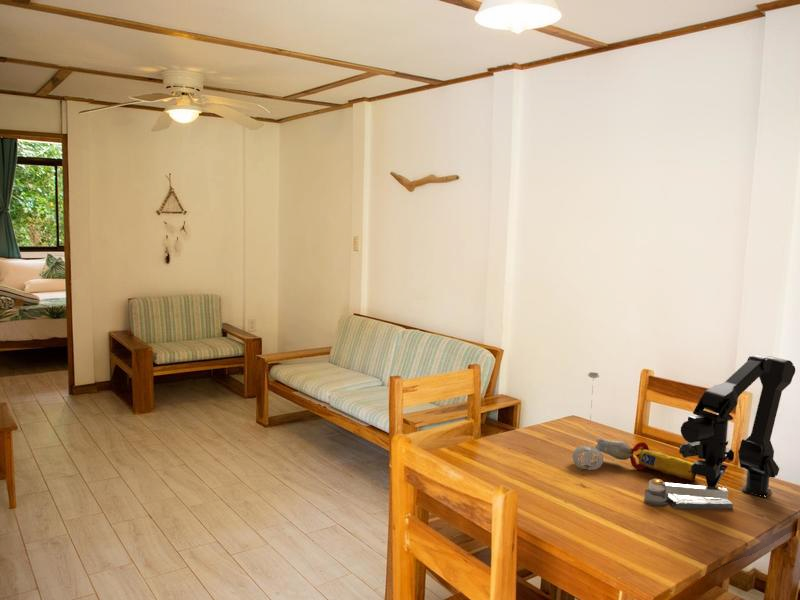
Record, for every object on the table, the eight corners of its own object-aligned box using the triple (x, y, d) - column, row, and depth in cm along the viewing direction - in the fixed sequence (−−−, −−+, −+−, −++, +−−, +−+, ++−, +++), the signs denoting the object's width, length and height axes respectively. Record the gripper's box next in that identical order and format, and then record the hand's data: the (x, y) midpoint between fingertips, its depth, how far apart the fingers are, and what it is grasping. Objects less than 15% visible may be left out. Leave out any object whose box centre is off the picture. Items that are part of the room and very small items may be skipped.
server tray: (676, 509, 176) (676, 502, 176) (660, 495, 185) (660, 488, 185) (732, 508, 177) (733, 502, 177) (714, 494, 186) (714, 488, 186)
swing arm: (650, 494, 178) (650, 483, 178) (646, 487, 182) (647, 477, 182) (729, 501, 175) (730, 490, 174) (723, 494, 179) (724, 483, 179)
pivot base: (648, 495, 184) (649, 486, 184) (670, 501, 181) (671, 492, 180) (640, 502, 180) (641, 493, 180) (663, 508, 176) (663, 499, 176)
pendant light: (599, 462, 209) (605, 370, 205) (605, 473, 200) (612, 377, 196) (569, 460, 210) (575, 369, 206) (574, 471, 200) (580, 376, 197)
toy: (702, 451, 201) (605, 423, 216) (696, 464, 190) (594, 434, 205) (697, 478, 202) (600, 448, 218) (690, 492, 192) (589, 460, 207)
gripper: (694, 421, 190) (691, 473, 192) (672, 438, 176) (669, 493, 178) (736, 430, 183) (732, 483, 185) (717, 448, 169) (712, 505, 171)
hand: (711, 491), depth 180 cm, fingers closed
